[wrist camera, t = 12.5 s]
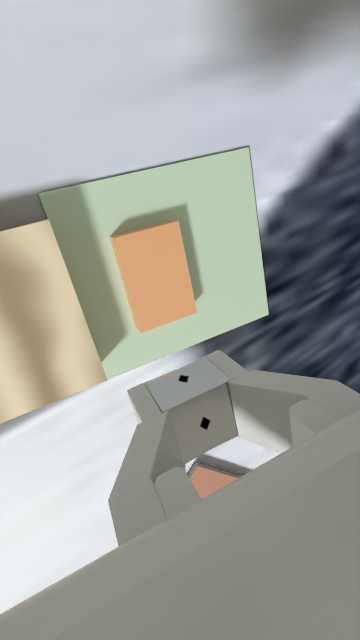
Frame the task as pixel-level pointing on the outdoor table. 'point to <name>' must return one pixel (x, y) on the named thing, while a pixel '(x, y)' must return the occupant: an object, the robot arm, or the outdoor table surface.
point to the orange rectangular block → (155, 274)
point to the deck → (40, 324)
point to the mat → (199, 244)
